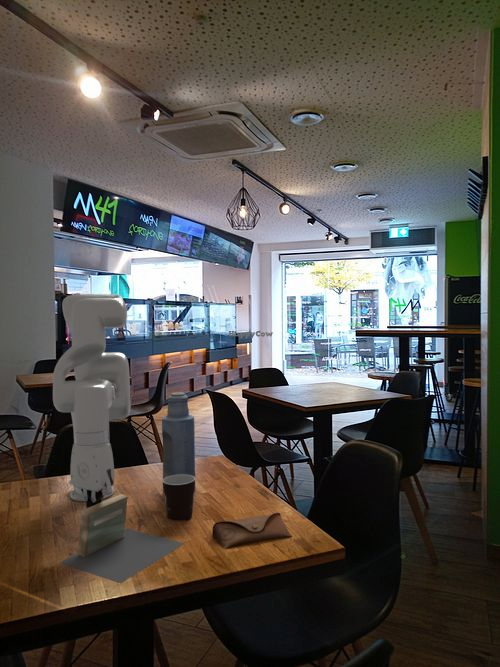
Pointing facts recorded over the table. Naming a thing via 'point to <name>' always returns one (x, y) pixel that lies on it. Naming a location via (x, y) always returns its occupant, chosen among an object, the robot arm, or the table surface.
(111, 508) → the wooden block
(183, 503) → the coffee mug
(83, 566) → the mat
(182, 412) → the bottle
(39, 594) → the table surface
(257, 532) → the sunglasses case
